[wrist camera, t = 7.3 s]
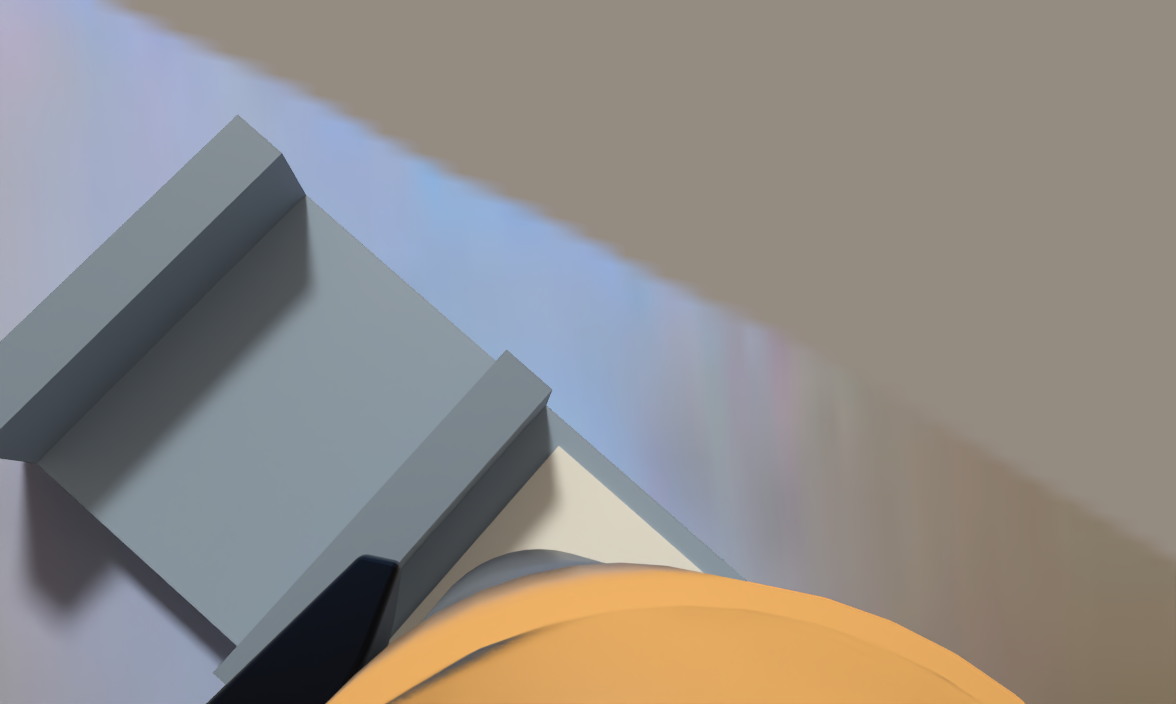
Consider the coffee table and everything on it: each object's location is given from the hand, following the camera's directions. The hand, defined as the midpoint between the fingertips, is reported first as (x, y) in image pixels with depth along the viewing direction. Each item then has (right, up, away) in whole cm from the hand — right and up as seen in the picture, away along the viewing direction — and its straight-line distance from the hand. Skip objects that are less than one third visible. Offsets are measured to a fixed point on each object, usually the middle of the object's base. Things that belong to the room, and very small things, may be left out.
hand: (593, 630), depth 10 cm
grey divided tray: (-1, -4, +12) cm, 13 cm away
